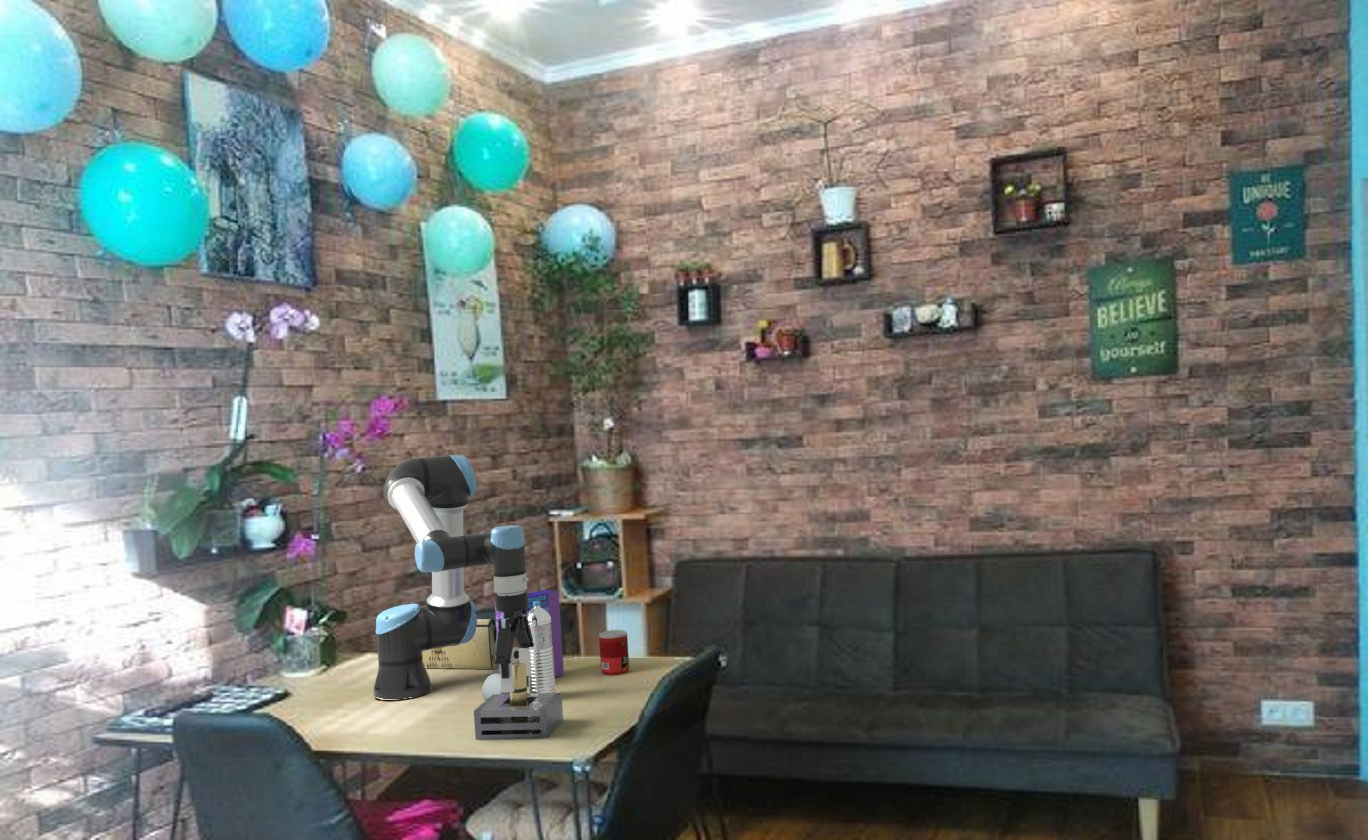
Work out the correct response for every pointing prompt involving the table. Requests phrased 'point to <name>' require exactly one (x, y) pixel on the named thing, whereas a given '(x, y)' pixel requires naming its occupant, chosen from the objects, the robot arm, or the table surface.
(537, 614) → the water bottle
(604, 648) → the canned food
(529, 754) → the table surface
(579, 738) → the table surface
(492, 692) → the ceramic mug
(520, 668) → the gold domed cylinder
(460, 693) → the table surface
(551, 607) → the cereal box
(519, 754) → the table surface
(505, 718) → the collar stand
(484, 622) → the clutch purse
